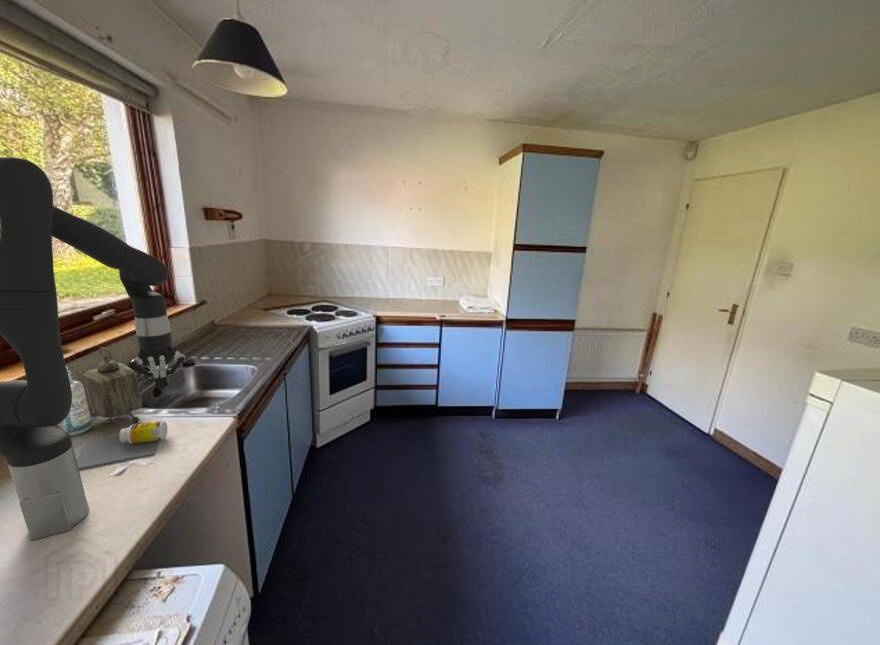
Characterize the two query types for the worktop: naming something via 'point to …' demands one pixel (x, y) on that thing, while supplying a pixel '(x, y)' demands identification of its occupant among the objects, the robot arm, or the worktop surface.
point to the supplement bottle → (144, 432)
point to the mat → (113, 451)
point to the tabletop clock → (112, 389)
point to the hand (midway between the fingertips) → (163, 388)
